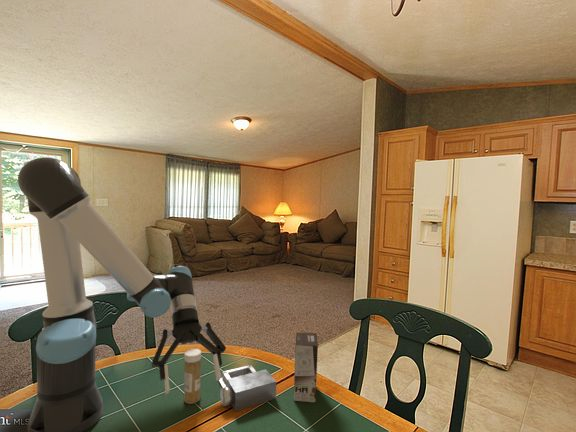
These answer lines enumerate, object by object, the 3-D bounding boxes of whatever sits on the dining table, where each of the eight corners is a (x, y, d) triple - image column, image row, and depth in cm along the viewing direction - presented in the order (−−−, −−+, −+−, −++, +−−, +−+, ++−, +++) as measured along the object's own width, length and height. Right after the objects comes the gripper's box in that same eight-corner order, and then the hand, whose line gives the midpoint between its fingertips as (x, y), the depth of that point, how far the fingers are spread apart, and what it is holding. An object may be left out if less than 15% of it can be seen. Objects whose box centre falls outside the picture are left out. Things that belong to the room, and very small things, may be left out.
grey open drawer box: (226, 414, 81) (226, 395, 81) (210, 382, 95) (210, 366, 94) (275, 398, 88) (276, 381, 88) (254, 371, 102) (254, 356, 101)
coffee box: (316, 402, 87) (318, 346, 86) (293, 401, 87) (294, 344, 86) (315, 383, 96) (317, 332, 95) (294, 382, 96) (296, 331, 95)
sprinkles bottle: (202, 401, 86) (203, 353, 85) (186, 406, 83) (186, 357, 83) (197, 392, 90) (198, 346, 89) (181, 397, 87) (182, 350, 87)
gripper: (221, 312, 105) (234, 378, 93) (139, 324, 93) (142, 402, 81) (226, 301, 100) (241, 369, 88) (140, 312, 88) (144, 393, 76)
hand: (194, 385), depth 84 cm, fingers open, 13 cm apart
